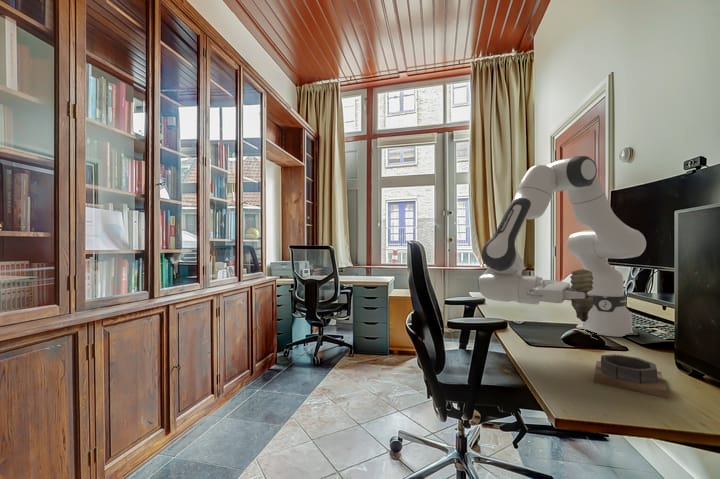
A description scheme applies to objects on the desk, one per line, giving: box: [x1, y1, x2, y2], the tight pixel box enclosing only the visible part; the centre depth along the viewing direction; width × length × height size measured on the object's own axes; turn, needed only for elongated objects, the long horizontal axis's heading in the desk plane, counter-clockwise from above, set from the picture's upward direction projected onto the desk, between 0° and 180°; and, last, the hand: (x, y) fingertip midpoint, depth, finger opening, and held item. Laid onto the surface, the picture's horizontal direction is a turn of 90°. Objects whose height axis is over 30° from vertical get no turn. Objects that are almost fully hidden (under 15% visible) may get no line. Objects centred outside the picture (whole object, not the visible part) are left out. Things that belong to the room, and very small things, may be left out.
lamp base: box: [594, 353, 669, 399], centre depth 79 cm, size 13×13×4 cm
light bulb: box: [569, 268, 593, 322], centre depth 91 cm, size 6×6×15 cm
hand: (585, 293), depth 91 cm, fingers closed on light bulb, 5 cm apart
